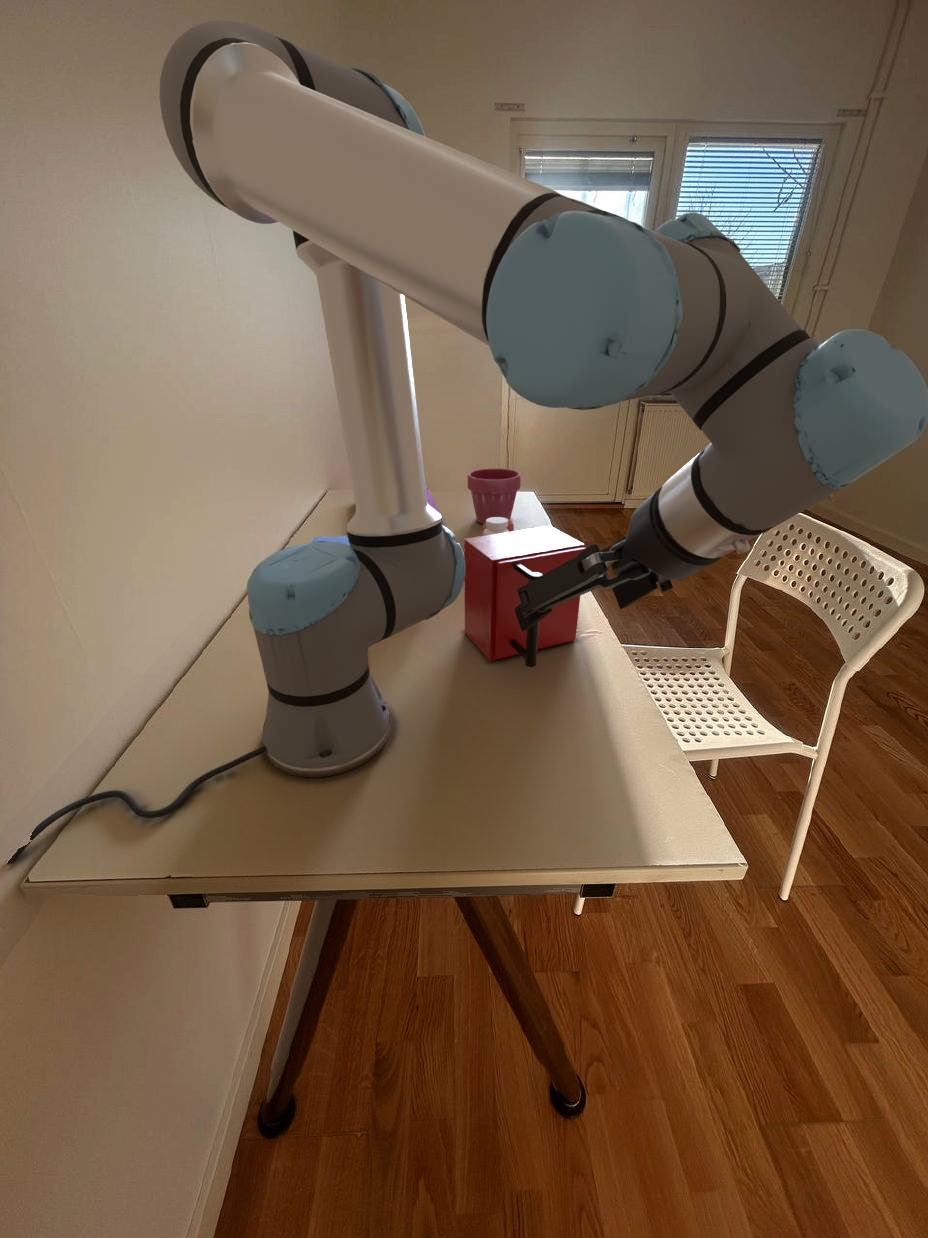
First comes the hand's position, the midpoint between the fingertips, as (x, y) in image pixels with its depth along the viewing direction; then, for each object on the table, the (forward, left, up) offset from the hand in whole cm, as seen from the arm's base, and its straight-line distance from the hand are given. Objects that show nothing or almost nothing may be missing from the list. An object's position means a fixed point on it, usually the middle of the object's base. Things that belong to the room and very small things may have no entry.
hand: (571, 608), depth 61 cm
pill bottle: (+41, +33, -16) cm, 54 cm away
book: (+60, +76, -16) cm, 98 cm away
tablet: (+26, +68, -16) cm, 74 cm away
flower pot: (+68, +49, -16) cm, 85 cm away
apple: (+51, +38, -16) cm, 65 cm away
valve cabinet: (+14, +13, -15) cm, 25 cm away
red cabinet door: (+10, +7, -14) cm, 19 cm away
